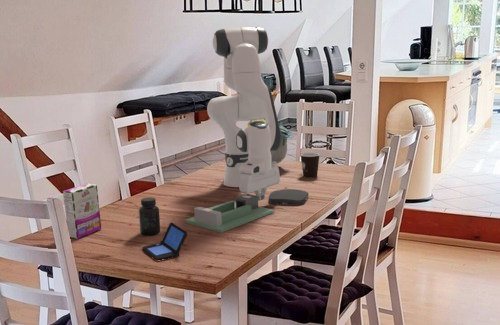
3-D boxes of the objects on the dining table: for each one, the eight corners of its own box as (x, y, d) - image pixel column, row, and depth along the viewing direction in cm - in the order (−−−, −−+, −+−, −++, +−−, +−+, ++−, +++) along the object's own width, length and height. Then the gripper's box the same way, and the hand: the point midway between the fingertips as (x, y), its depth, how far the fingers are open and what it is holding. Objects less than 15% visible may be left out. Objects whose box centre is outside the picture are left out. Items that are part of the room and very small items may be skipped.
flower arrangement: (264, 160, 310) (263, 113, 305) (301, 167, 293) (301, 117, 287) (229, 168, 293) (228, 119, 288) (266, 176, 276) (265, 124, 271)
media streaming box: (275, 194, 247) (275, 187, 246) (310, 196, 243) (310, 189, 242) (266, 204, 233) (266, 197, 233) (303, 206, 229) (303, 199, 229)
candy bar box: (91, 227, 210) (87, 182, 207) (101, 229, 208) (98, 184, 204) (66, 237, 201) (62, 190, 198) (77, 239, 198) (72, 192, 195)
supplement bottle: (142, 230, 206) (140, 196, 204) (162, 229, 206) (160, 196, 203) (138, 236, 200) (135, 202, 197) (158, 236, 199) (156, 201, 197)
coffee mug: (320, 177, 271) (320, 156, 269) (301, 178, 271) (301, 156, 269) (317, 171, 283) (317, 151, 280) (299, 172, 283) (299, 151, 281)
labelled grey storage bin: (248, 205, 228) (248, 193, 227) (258, 207, 225) (258, 195, 224) (236, 209, 223) (235, 197, 222) (246, 211, 220) (245, 199, 219)
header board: (237, 204, 234) (237, 190, 232) (273, 212, 222) (273, 197, 221) (185, 222, 213) (184, 207, 212) (221, 232, 202) (220, 216, 200)
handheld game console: (141, 250, 188) (139, 228, 186) (172, 243, 193) (171, 221, 192) (156, 262, 177) (155, 239, 176) (189, 254, 183) (188, 231, 181)
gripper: (270, 158, 236) (271, 192, 239) (235, 168, 221) (237, 204, 224) (283, 160, 232) (283, 195, 235) (248, 170, 217) (249, 207, 220)
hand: (260, 199), depth 229 cm, fingers closed
